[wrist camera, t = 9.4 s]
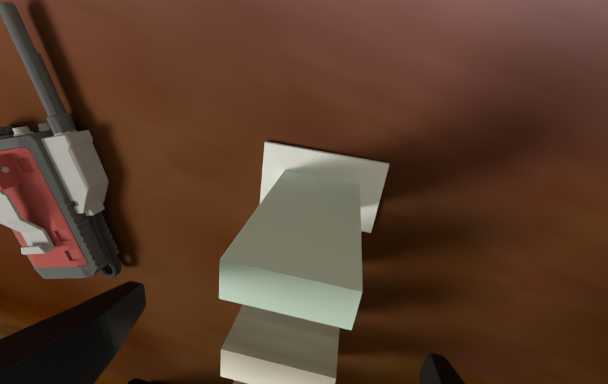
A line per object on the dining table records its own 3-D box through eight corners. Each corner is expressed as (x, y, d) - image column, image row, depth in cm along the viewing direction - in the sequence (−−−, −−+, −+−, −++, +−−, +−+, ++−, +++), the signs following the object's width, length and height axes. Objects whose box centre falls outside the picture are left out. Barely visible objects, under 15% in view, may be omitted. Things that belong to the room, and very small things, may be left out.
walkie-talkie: (151, 265, 26) (42, 3, 18) (112, 301, 22) (-46, -16, 14) (71, 267, 27) (-56, 30, 20) (22, 301, 23) (-158, 21, 16)
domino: (340, 265, 22) (328, 405, 13) (276, 251, 22) (220, 376, 13) (345, 245, 21) (336, 378, 12) (278, 231, 22) (221, 349, 12)
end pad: (370, 230, 20) (371, 233, 20) (260, 208, 21) (259, 210, 21) (388, 163, 18) (389, 164, 18) (266, 141, 19) (264, 142, 19)
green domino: (354, 208, 19) (351, 330, 10) (281, 194, 20) (218, 298, 11) (359, 184, 19) (362, 291, 10) (284, 169, 19) (219, 259, 10)
